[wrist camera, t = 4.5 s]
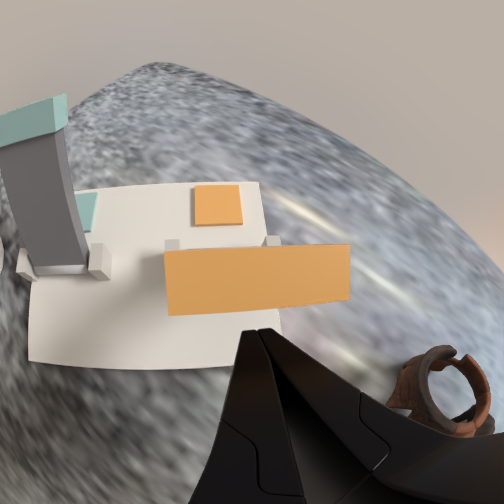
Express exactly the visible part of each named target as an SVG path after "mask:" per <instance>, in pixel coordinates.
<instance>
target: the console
mask: <svg viewBox="0 0 504 504" xmlns="http://www.w3.org/2000/svg"><path fill="white" fill-rule="evenodd" d="M74 195H75V199H76V204H77V208H78V212H79V216H80V220H81V223H82V227H83V231H84V234H85V238H86V241H87V244H88V248H89V251H90V257H89V267H88V271H89V272H90V274H54V275H38V274H36V272H35V270H34V266H33V264H32V261H31V259H30V257H29V255H28V252H27V250H26V248H20V251H19V256H18V262H17V268H16V273H18V274H19V275H21V276H22V277H24V278H25V279H27V280H28V281H30V282H32V285H31V294H30V307H29V327H28V356H29V361H35V362H41V363H49V364H57V365H66V366H77V367H89V368H105V369H139V370H155V369H189V368H207V367H220V366H231V365H234V361H235V356H236V352H237V348H238V344H239V340H240V335H241V332H242V331H243V330H252V329H255V330H256V331H257V330H258V329H262V328H272V329H274V330H275V331H276V332H278V333H279V334H280V335H282V332H281V325H280V318H279V311H278V308H277V309H266V310H255V311H244V312H231V313H216V314H199V315H179V316H168V305H167V293H166V280H165V264H164V252H166V251H170V250H187V249H196V248H220V247H244V246H258V247H262V246H281V241H280V235H278V236H267V232H266V226H265V220H264V214H263V208H262V201H261V195H260V189H259V183H258V182H194V183H169V184H151V185H136V186H123V187H112V188H101V189H92V190H83V191H74Z"/></svg>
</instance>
